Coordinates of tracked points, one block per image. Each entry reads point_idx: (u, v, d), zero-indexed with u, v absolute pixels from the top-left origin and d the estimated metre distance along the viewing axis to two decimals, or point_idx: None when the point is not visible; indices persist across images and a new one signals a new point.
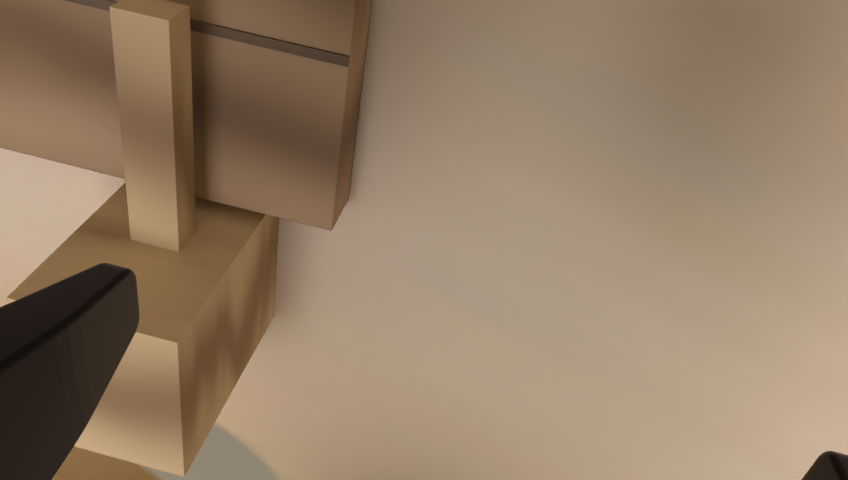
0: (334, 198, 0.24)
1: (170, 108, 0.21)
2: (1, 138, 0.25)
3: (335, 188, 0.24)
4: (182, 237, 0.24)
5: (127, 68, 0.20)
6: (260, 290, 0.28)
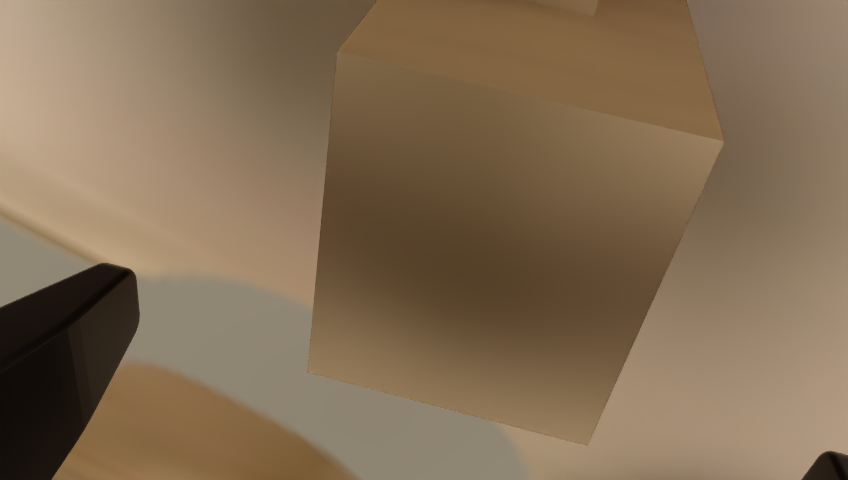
0: None
1: None
2: None
3: None
4: None
5: None
6: None
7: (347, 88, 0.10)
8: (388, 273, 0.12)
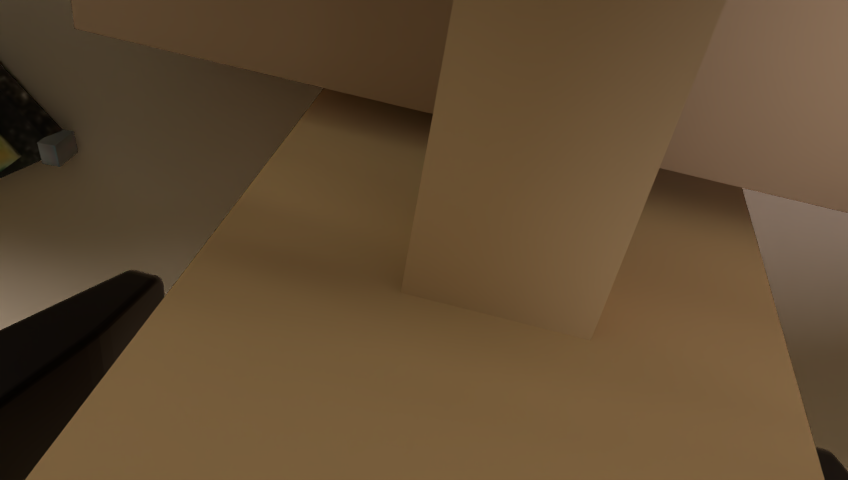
0: None
1: None
2: None
3: None
4: (604, 282, 0.06)
5: None
6: None
7: None
8: None
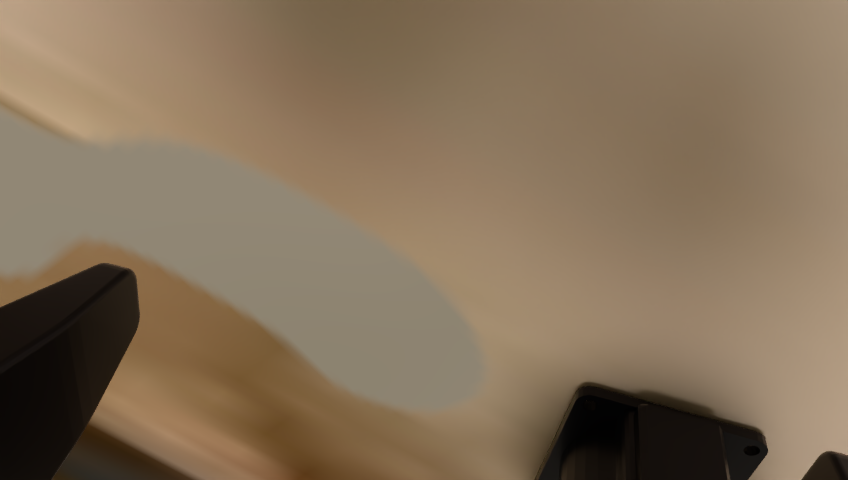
0: None
1: None
2: None
3: None
4: None
5: None
6: None
7: None
8: None
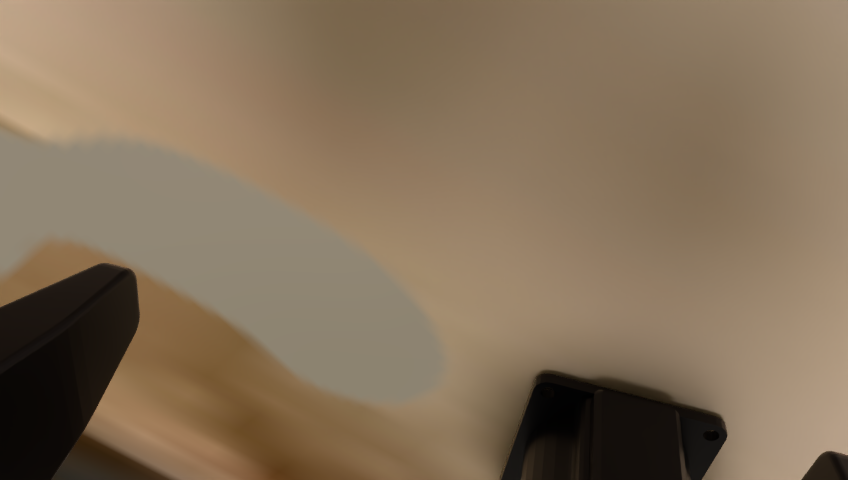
0: None
1: None
2: None
3: None
4: None
5: None
6: None
7: None
8: None
